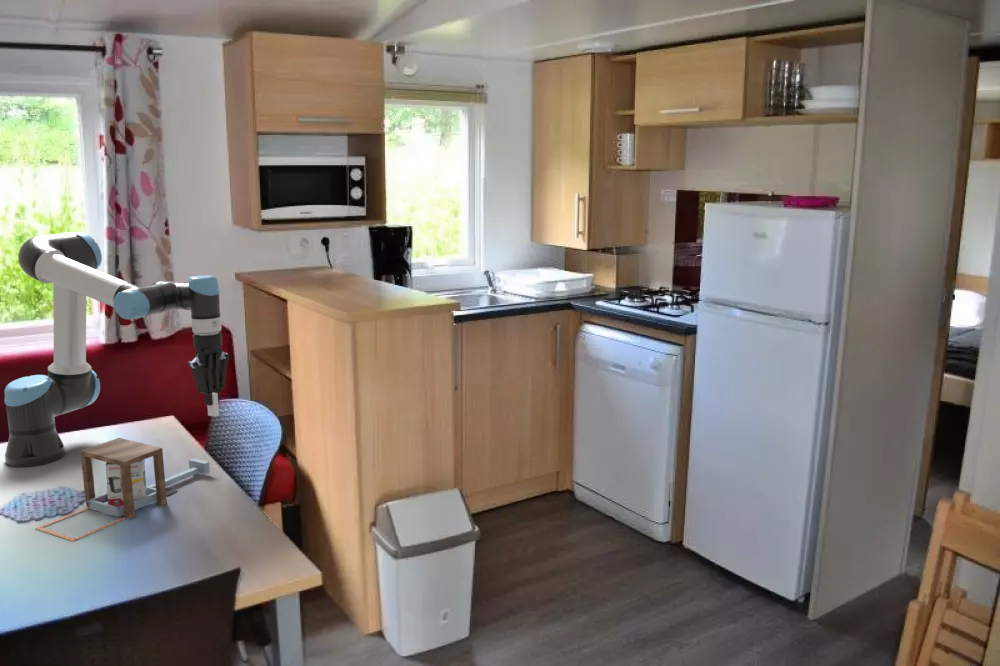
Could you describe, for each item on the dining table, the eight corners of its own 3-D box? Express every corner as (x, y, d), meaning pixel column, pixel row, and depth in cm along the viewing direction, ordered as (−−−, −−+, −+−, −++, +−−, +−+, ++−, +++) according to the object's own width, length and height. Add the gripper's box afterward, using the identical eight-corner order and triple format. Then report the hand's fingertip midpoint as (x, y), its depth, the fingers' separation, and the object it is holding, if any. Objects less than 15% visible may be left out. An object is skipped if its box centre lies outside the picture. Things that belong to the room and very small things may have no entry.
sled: (88, 507, 202) (86, 495, 202) (187, 467, 229) (186, 456, 228) (118, 516, 197) (117, 504, 197) (216, 474, 224) (215, 463, 223)
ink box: (108, 510, 203) (103, 465, 200) (111, 502, 207) (106, 458, 205) (146, 506, 205) (142, 461, 203) (148, 498, 210) (144, 454, 207)
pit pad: (138, 491, 214) (138, 490, 214) (153, 485, 218) (153, 484, 218) (162, 498, 210) (162, 497, 210) (177, 491, 214) (177, 490, 214)
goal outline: (35, 529, 192) (35, 528, 192) (88, 507, 204) (88, 507, 204) (72, 541, 186) (72, 540, 186) (125, 518, 198) (125, 518, 198)
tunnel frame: (86, 506, 205) (80, 450, 202) (124, 491, 214) (119, 437, 211) (129, 519, 197) (124, 461, 194) (166, 503, 207) (162, 447, 204)
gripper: (198, 338, 216) (205, 423, 221) (235, 329, 227) (240, 411, 232) (178, 335, 219) (185, 419, 224) (215, 327, 231) (221, 407, 235)
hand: (213, 415), depth 228 cm, fingers closed
